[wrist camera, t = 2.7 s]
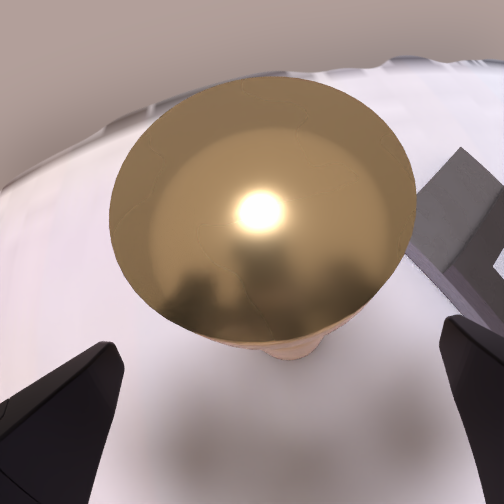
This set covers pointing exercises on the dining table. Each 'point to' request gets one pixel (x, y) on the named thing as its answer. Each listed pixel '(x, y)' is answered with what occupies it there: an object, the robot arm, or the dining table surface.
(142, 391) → the dining table surface
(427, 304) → the dining table surface
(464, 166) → the grey rectangular frame
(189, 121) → the brass pin
